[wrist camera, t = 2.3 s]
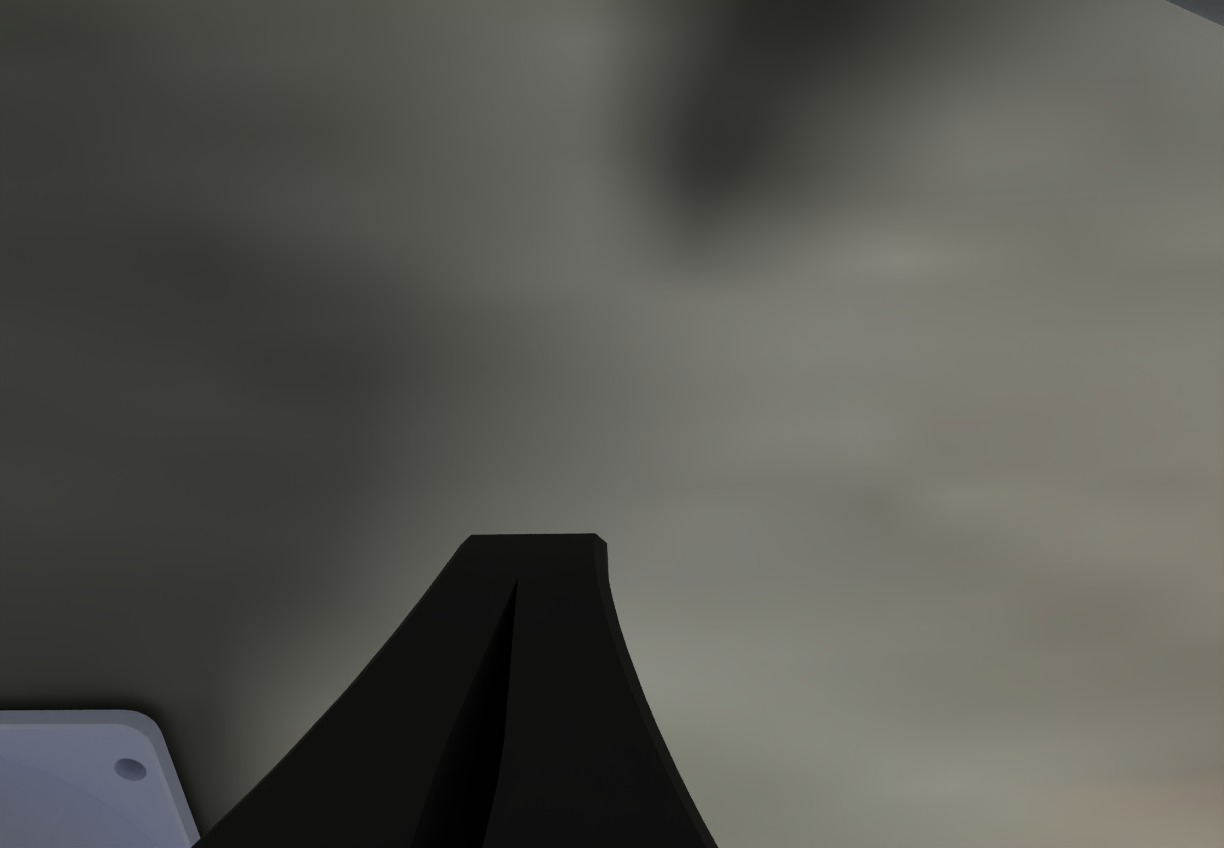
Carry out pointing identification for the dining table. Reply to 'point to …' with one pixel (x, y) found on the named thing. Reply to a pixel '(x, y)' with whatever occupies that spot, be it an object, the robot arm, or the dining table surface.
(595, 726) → the robot arm
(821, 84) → the dining table surface
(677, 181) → the dining table surface
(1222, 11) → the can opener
